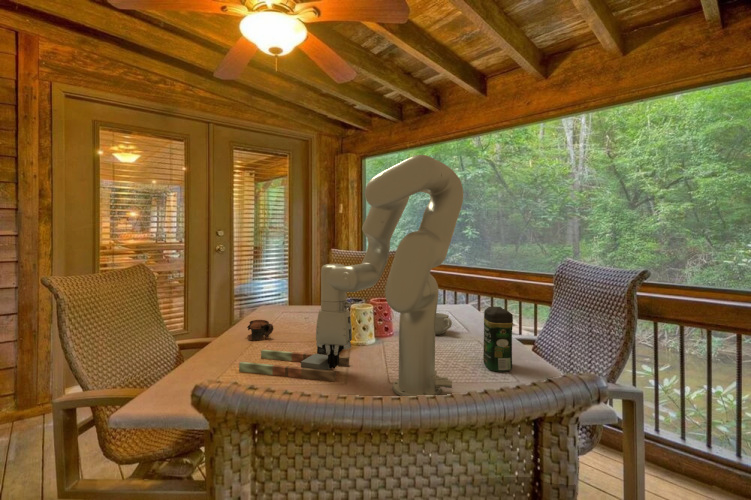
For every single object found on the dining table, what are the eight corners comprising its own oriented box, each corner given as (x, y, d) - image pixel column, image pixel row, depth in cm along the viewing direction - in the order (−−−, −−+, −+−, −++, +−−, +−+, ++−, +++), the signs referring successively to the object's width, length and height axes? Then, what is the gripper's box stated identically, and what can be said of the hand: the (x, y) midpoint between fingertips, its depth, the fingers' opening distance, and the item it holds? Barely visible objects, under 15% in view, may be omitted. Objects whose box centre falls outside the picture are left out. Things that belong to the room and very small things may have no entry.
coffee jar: (480, 361, 122) (481, 304, 121) (505, 362, 121) (506, 305, 121) (488, 372, 112) (489, 311, 111) (515, 373, 112) (516, 311, 111)
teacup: (417, 331, 159) (417, 312, 158) (438, 328, 163) (439, 310, 163) (435, 340, 146) (436, 319, 146) (458, 336, 151) (459, 317, 150)
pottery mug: (240, 341, 144) (242, 321, 148) (256, 346, 152) (258, 326, 156) (266, 336, 140) (267, 315, 144) (281, 341, 148) (282, 321, 152)
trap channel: (349, 365, 118) (349, 357, 118) (334, 381, 105) (334, 372, 105) (263, 356, 125) (262, 349, 125) (239, 371, 112) (239, 363, 112)
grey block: (331, 368, 116) (331, 355, 115) (319, 378, 108) (319, 364, 108) (314, 366, 118) (314, 353, 117) (300, 375, 110) (300, 361, 110)
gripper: (361, 304, 113) (361, 365, 114) (315, 302, 117) (315, 360, 118) (354, 309, 106) (353, 374, 107) (305, 306, 109) (304, 368, 110)
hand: (333, 366), depth 112 cm, fingers closed
